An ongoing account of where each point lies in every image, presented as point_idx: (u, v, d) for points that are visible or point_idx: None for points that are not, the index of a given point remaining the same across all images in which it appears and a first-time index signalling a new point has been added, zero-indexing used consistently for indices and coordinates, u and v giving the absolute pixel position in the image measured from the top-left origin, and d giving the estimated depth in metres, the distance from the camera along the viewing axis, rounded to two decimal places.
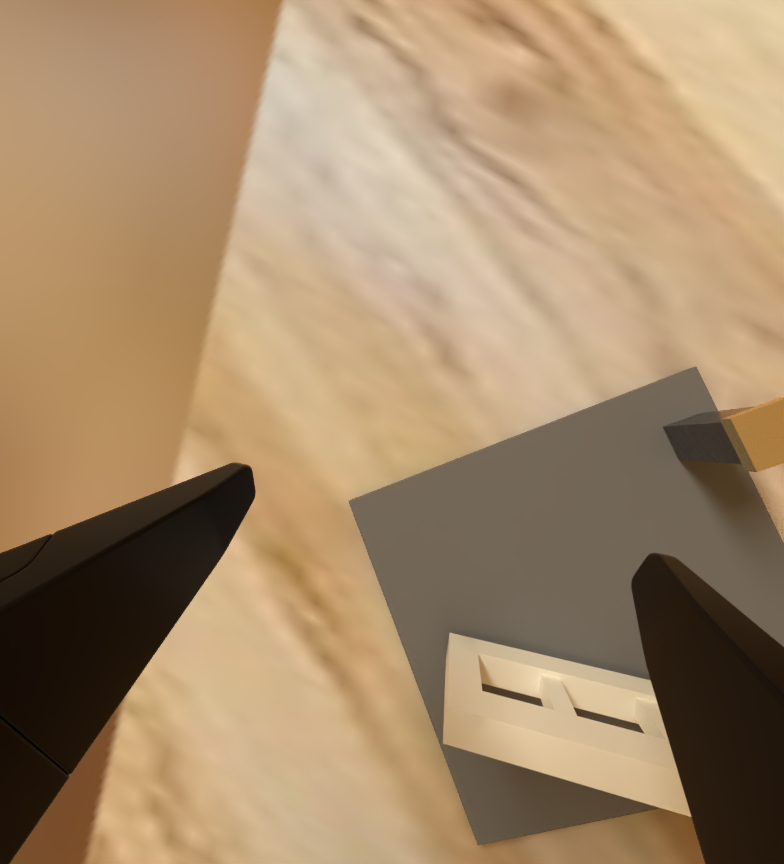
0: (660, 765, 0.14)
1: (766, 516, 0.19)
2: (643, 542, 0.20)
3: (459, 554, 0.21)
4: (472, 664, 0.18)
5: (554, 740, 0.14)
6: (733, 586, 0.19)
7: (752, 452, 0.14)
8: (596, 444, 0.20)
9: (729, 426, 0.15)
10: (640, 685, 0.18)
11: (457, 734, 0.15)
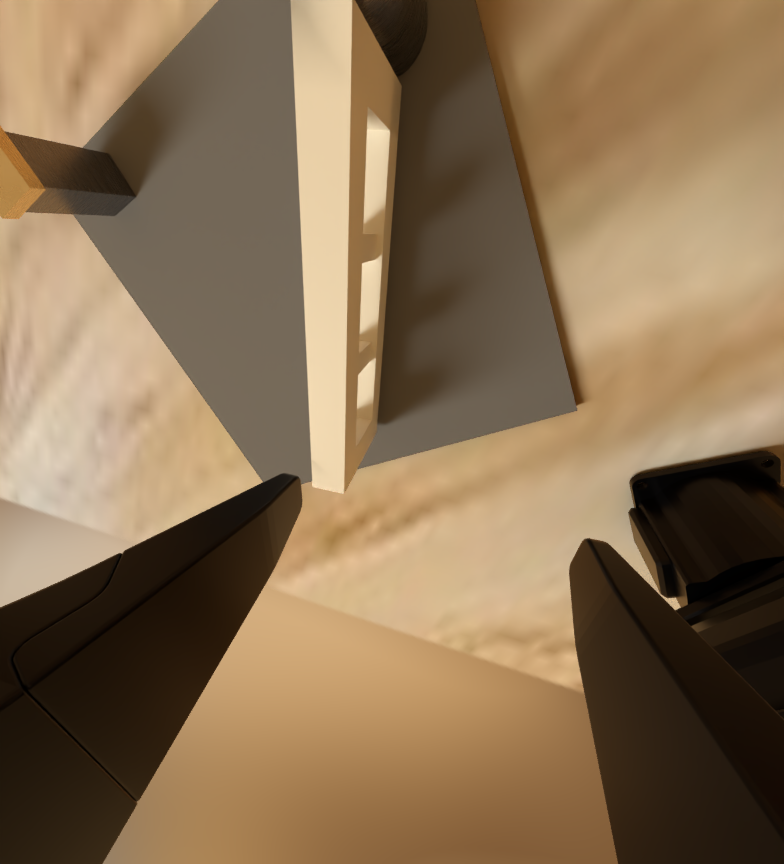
0: (304, 305, 0.12)
1: (153, 78, 0.15)
2: (225, 231, 0.18)
3: (287, 411, 0.23)
4: None
5: (312, 405, 0.14)
6: (239, 115, 0.15)
7: (17, 193, 0.14)
8: (155, 284, 0.20)
9: (13, 214, 0.15)
10: None
11: (332, 482, 0.16)
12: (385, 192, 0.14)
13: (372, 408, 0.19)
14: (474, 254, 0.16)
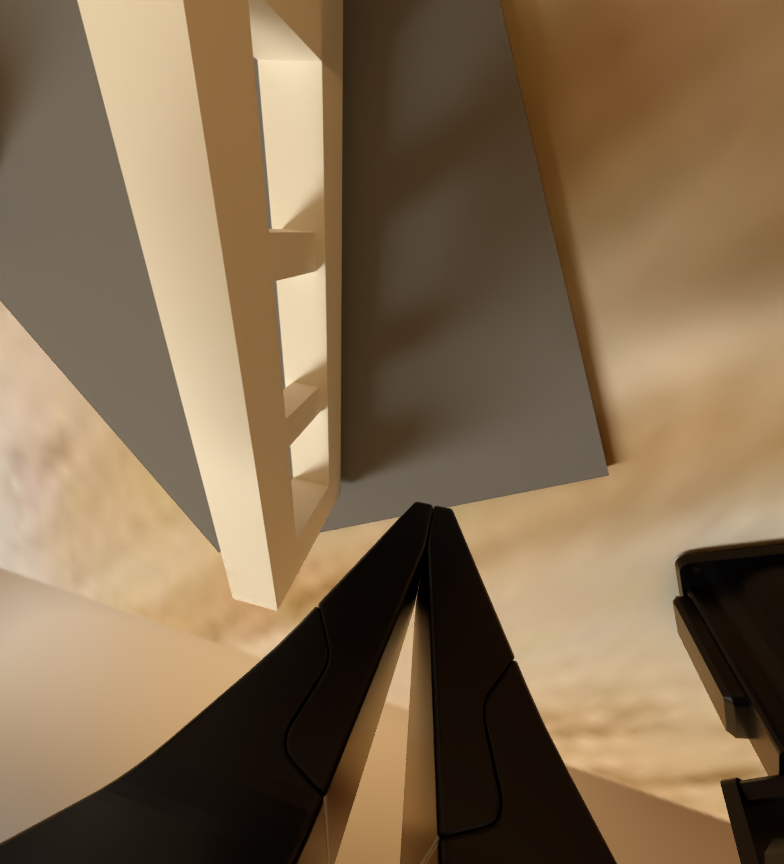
0: (170, 355, 0.07)
1: None
2: (118, 230, 0.13)
3: None
4: None
5: (212, 500, 0.09)
6: None
7: None
8: (40, 301, 0.15)
9: None
10: None
11: (259, 596, 0.11)
12: (322, 167, 0.09)
13: (328, 471, 0.14)
14: (464, 262, 0.11)
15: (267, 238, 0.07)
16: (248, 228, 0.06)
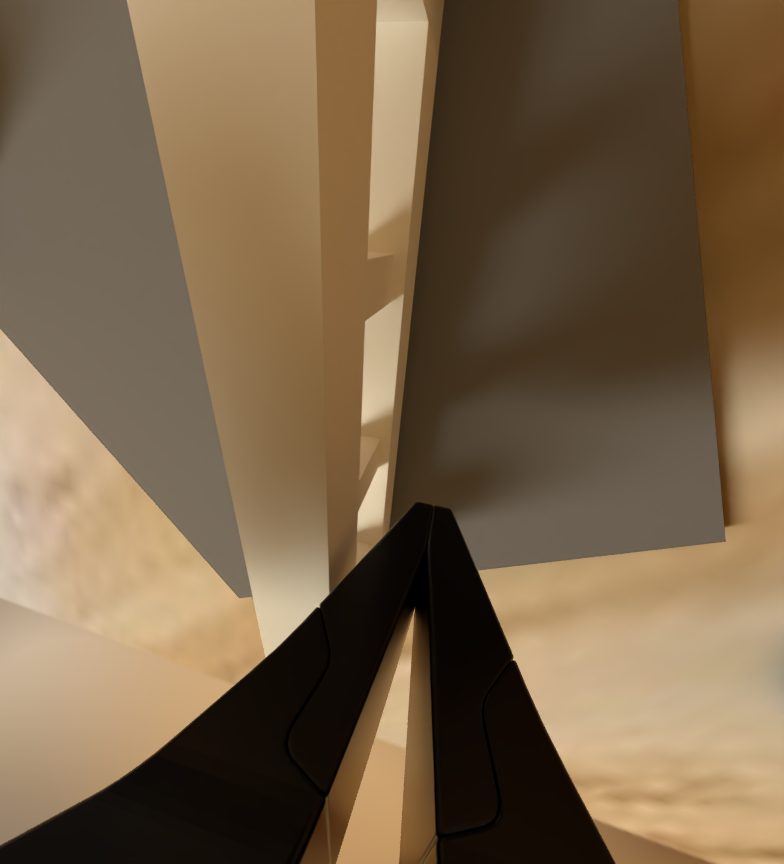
0: (221, 442, 0.05)
1: None
2: (134, 246, 0.11)
3: None
4: None
5: (262, 610, 0.07)
6: (131, 29, 0.08)
7: None
8: (42, 326, 0.13)
9: None
10: None
11: None
12: (413, 168, 0.07)
13: (381, 531, 0.12)
14: (573, 288, 0.09)
15: (365, 273, 0.05)
16: (350, 262, 0.04)
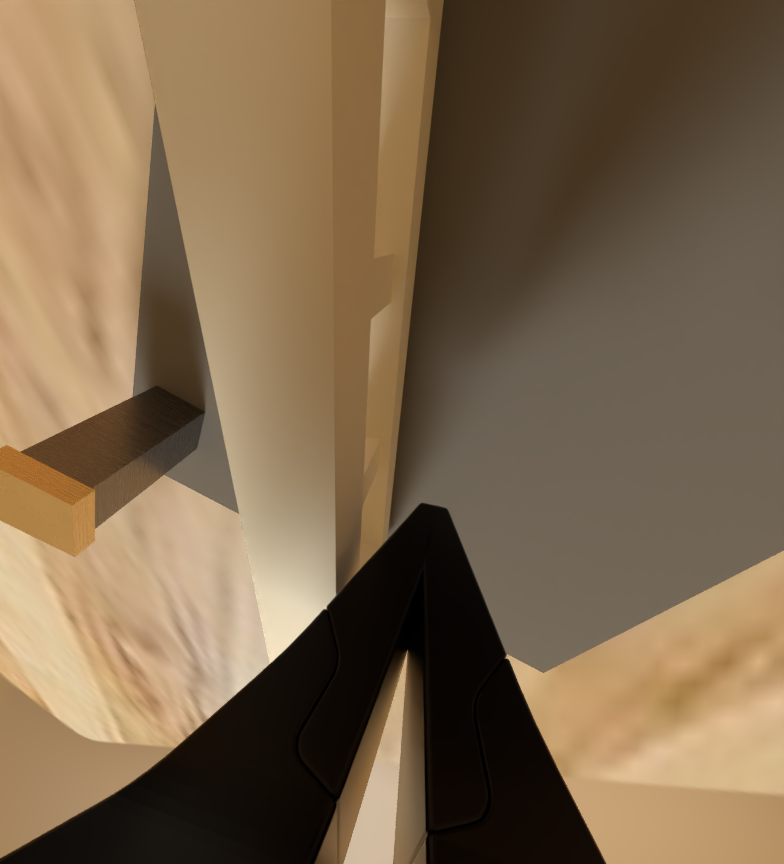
0: (226, 446, 0.05)
1: (148, 259, 0.11)
2: None
3: (523, 562, 0.14)
4: None
5: (266, 614, 0.07)
6: None
7: (67, 521, 0.09)
8: None
9: (83, 543, 0.10)
10: None
11: None
12: (414, 167, 0.07)
13: (382, 531, 0.12)
14: None
15: (371, 273, 0.05)
16: (358, 263, 0.04)
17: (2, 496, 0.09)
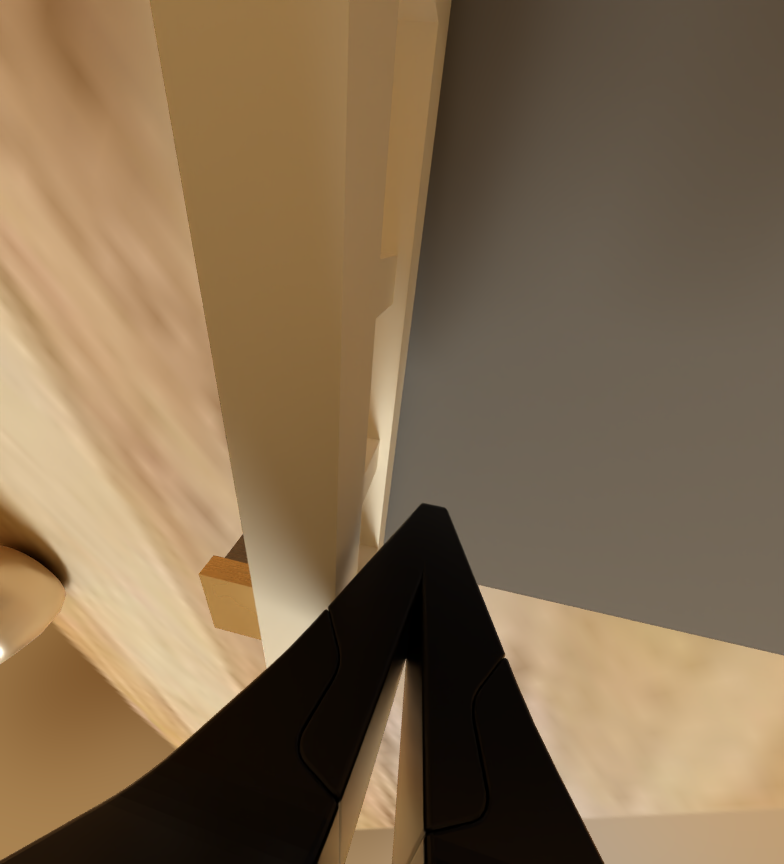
0: (228, 445, 0.05)
1: None
2: (456, 400, 0.11)
3: (758, 530, 0.11)
4: None
5: (264, 614, 0.07)
6: None
7: None
8: None
9: None
10: None
11: None
12: (419, 169, 0.07)
13: (379, 532, 0.12)
14: None
15: (378, 275, 0.05)
16: (366, 264, 0.04)
17: (221, 605, 0.09)
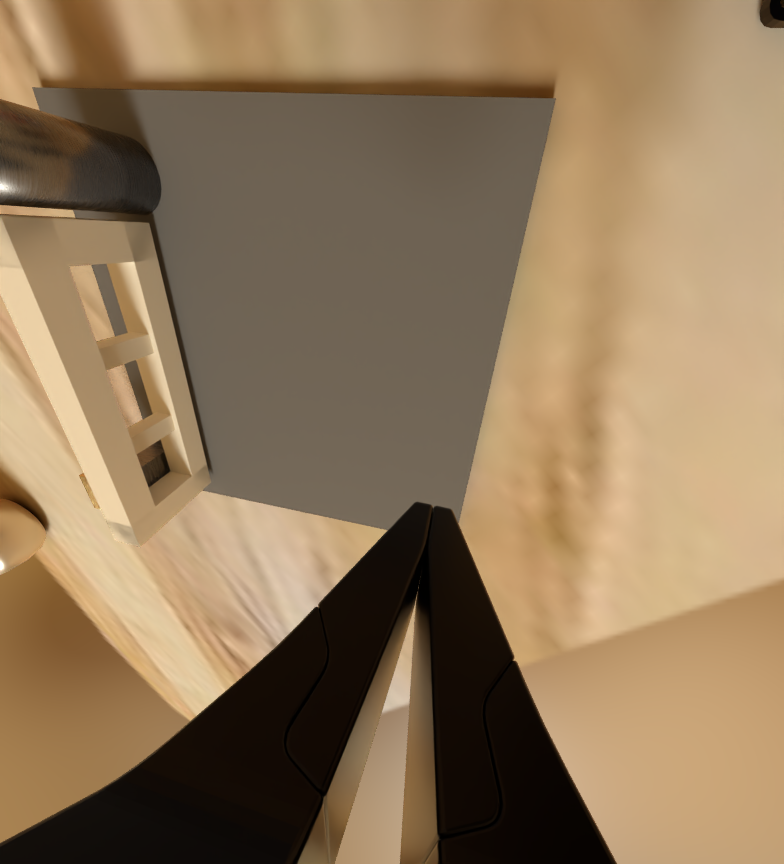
0: (53, 407, 0.15)
1: (129, 371, 0.22)
2: (220, 395, 0.21)
3: (377, 461, 0.21)
4: None
5: (89, 479, 0.17)
6: None
7: None
8: (237, 475, 0.24)
9: None
10: None
11: (128, 538, 0.19)
12: (145, 304, 0.17)
13: (189, 466, 0.22)
14: (305, 175, 0.15)
15: (98, 353, 0.15)
16: (82, 354, 0.15)
17: None
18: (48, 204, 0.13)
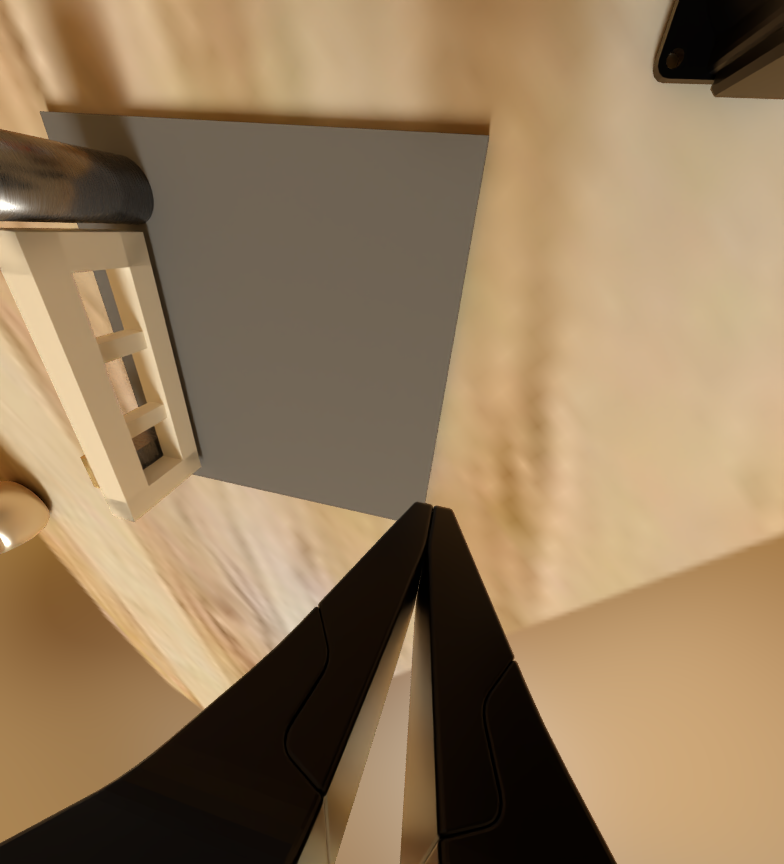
0: (58, 395, 0.17)
1: (126, 363, 0.24)
2: (208, 387, 0.23)
3: (349, 448, 0.23)
4: None
5: (89, 459, 0.19)
6: None
7: None
8: (225, 460, 0.26)
9: None
10: None
11: (124, 513, 0.21)
12: (139, 305, 0.19)
13: (180, 451, 0.24)
14: (279, 194, 0.17)
15: (97, 348, 0.17)
16: (83, 348, 0.17)
17: (93, 473, 0.22)
18: (54, 219, 0.15)
